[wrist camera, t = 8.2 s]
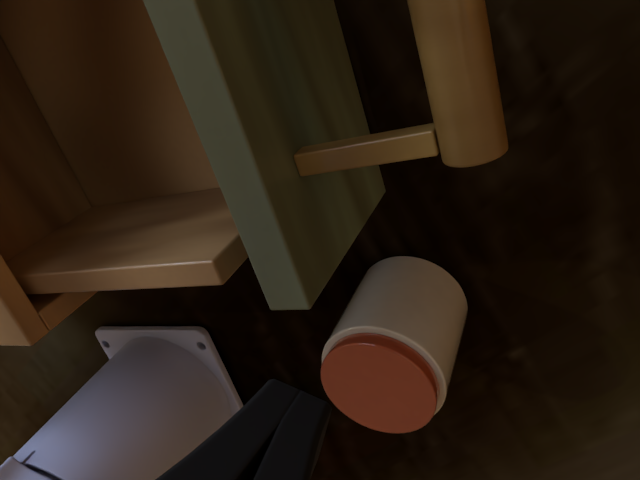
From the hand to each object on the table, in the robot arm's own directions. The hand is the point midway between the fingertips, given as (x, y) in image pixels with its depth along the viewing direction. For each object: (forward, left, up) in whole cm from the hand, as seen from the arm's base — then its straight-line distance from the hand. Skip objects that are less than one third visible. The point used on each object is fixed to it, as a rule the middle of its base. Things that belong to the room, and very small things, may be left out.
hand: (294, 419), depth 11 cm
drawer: (+7, +5, -10) cm, 12 cm away
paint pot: (-4, +1, -10) cm, 11 cm away
